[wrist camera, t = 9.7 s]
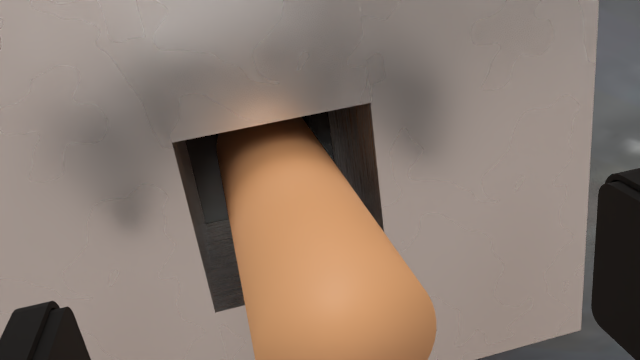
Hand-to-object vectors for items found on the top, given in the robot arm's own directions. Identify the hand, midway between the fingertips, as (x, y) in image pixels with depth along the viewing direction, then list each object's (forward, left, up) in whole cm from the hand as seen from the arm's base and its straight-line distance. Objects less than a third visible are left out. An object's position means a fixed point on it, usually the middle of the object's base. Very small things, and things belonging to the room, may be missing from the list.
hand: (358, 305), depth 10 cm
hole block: (0, 0, -9) cm, 9 cm away
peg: (0, 0, -9) cm, 9 cm away
